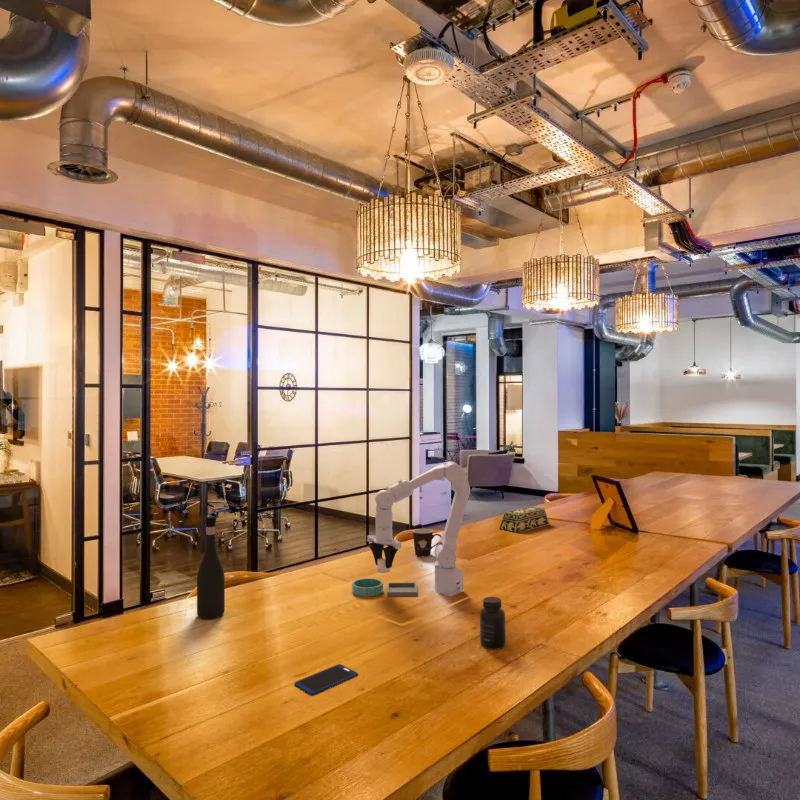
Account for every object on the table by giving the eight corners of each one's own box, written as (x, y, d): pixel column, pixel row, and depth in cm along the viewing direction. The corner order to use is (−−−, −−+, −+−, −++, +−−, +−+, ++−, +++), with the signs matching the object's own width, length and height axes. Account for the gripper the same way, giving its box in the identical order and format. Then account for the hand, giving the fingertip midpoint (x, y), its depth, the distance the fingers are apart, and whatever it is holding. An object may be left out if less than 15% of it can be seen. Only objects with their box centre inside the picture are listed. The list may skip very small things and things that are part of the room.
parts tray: (415, 587, 200) (415, 582, 200) (417, 597, 190) (417, 591, 190) (387, 587, 199) (387, 582, 199) (387, 597, 189) (387, 592, 189)
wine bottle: (196, 612, 177) (196, 515, 177) (223, 609, 179) (223, 513, 179) (197, 621, 169) (197, 520, 169) (225, 618, 172) (225, 518, 172)
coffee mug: (409, 555, 240) (409, 531, 240) (418, 550, 248) (418, 527, 248) (434, 559, 235) (434, 534, 235) (442, 554, 243) (442, 530, 243)
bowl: (388, 592, 194) (388, 582, 194) (366, 600, 187) (366, 590, 187) (368, 586, 201) (368, 576, 201) (346, 593, 194) (346, 583, 194)
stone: (392, 570, 194) (392, 559, 194) (383, 573, 191) (383, 561, 191) (384, 568, 197) (384, 556, 197) (374, 570, 194) (374, 559, 194)
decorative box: (550, 525, 300) (549, 507, 300) (515, 534, 280) (515, 515, 280) (532, 521, 308) (532, 505, 308) (497, 530, 288) (497, 512, 288)
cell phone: (359, 676, 136) (359, 673, 136) (311, 697, 127) (311, 694, 127) (340, 666, 142) (340, 663, 142) (292, 686, 132) (292, 682, 132)
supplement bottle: (488, 636, 158) (488, 593, 158) (510, 643, 154) (510, 598, 154) (474, 644, 153) (474, 600, 153) (497, 652, 148) (497, 605, 148)
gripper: (360, 524, 196) (360, 564, 196) (390, 531, 186) (390, 573, 186) (375, 521, 201) (375, 560, 201) (405, 528, 191) (405, 568, 191)
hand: (383, 566), depth 194 cm, fingers closed on stone, 4 cm apart
